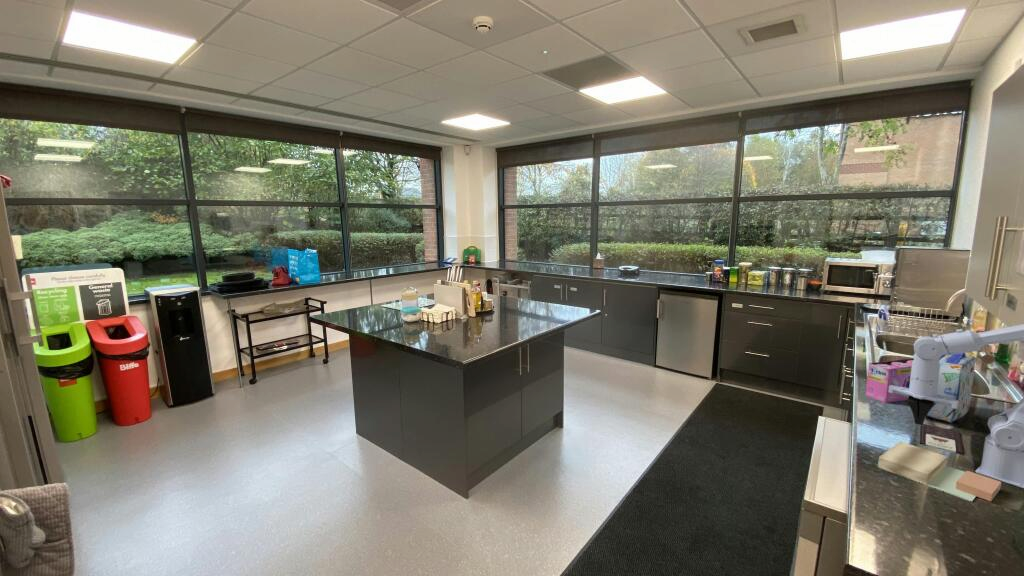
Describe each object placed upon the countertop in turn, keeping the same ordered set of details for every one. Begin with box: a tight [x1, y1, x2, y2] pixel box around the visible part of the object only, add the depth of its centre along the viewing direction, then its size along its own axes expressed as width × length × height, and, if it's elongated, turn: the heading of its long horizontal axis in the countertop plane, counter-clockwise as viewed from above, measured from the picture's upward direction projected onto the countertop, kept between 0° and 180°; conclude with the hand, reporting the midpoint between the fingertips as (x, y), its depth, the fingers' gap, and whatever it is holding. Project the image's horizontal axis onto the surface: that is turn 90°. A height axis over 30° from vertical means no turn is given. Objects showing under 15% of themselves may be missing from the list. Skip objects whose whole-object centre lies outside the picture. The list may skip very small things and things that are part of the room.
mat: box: [926, 465, 977, 503], centre depth 108 cm, size 8×16×1 cm, turn 121°
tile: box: [956, 470, 1002, 502], centre depth 105 cm, size 6×9×2 cm, turn 121°
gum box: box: [864, 358, 914, 404], centre depth 164 cm, size 24×8×14 cm, turn 103°
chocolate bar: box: [919, 423, 963, 456], centre depth 131 cm, size 9×1×18 cm
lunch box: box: [926, 353, 976, 423], centre depth 147 cm, size 28×10×22 cm, turn 126°
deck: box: [877, 441, 949, 486], centre depth 116 cm, size 10×16×3 cm, turn 121°
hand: (918, 423), depth 122 cm, fingers closed
